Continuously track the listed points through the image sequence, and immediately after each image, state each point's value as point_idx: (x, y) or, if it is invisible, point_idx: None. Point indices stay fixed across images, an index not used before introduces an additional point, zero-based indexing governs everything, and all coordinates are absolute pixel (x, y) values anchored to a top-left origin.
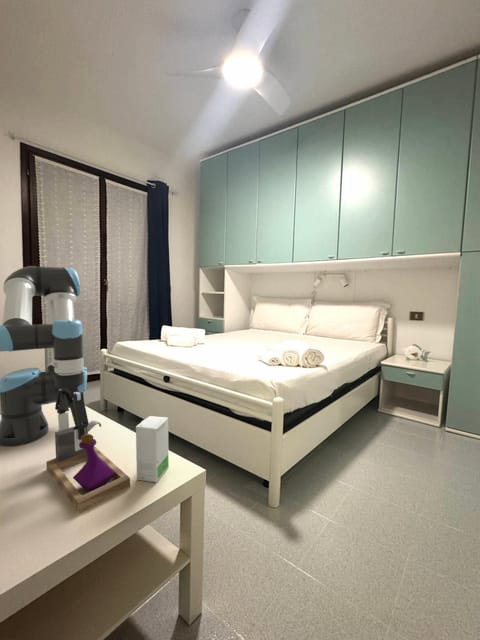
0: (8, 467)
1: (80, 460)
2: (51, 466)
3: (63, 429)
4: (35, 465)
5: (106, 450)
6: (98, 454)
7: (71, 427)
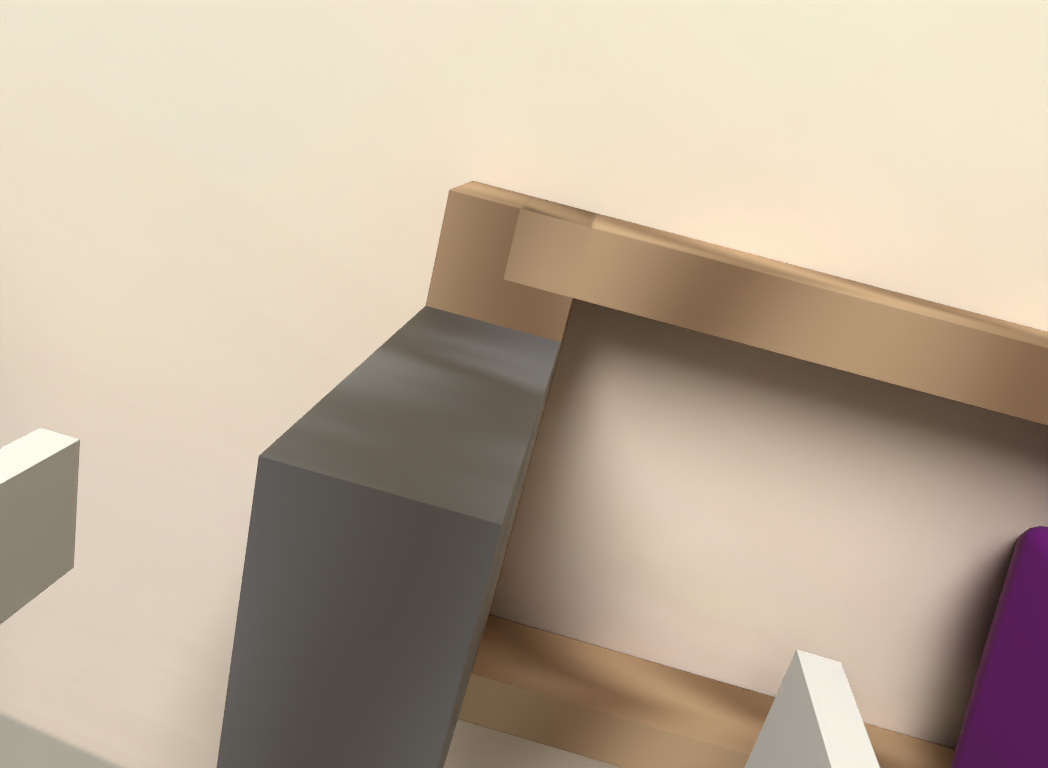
0: (76, 730)
1: (544, 406)
2: (493, 722)
3: (14, 556)
4: (222, 628)
5: (602, 44)
6: (768, 327)
7: (239, 691)
